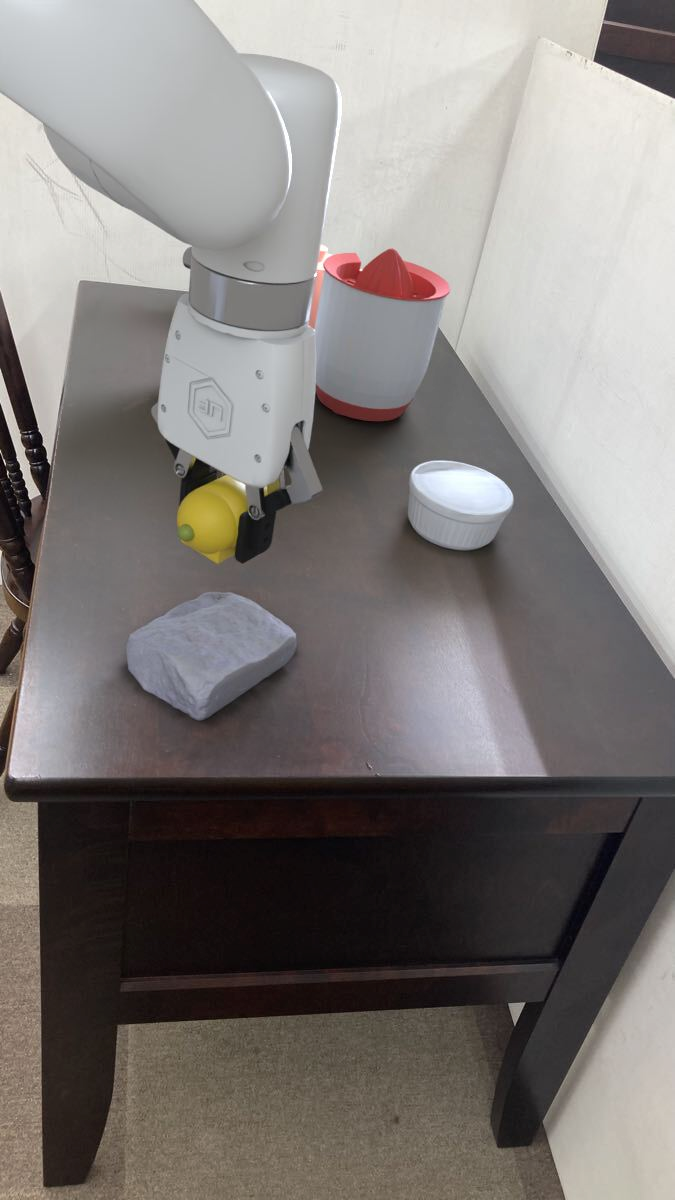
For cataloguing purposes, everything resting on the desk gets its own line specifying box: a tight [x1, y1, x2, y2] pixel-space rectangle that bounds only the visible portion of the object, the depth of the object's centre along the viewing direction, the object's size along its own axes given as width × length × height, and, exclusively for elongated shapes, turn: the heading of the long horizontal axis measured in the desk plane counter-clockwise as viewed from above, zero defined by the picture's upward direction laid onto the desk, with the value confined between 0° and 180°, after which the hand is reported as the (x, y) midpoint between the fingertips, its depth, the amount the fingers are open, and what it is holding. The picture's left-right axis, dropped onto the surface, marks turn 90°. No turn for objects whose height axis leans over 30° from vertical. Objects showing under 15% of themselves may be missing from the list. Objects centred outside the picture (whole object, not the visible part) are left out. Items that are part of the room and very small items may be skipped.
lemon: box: [176, 474, 268, 565], centre depth 64 cm, size 10×5×5 cm, turn 144°
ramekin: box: [407, 460, 515, 551], centre depth 95 cm, size 11×11×5 cm
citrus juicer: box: [314, 247, 451, 422], centre depth 112 cm, size 16×17×20 cm
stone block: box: [125, 591, 297, 721], centre depth 71 cm, size 12×5×10 cm
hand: (223, 535), depth 65 cm, fingers closed on lemon, 4 cm apart
